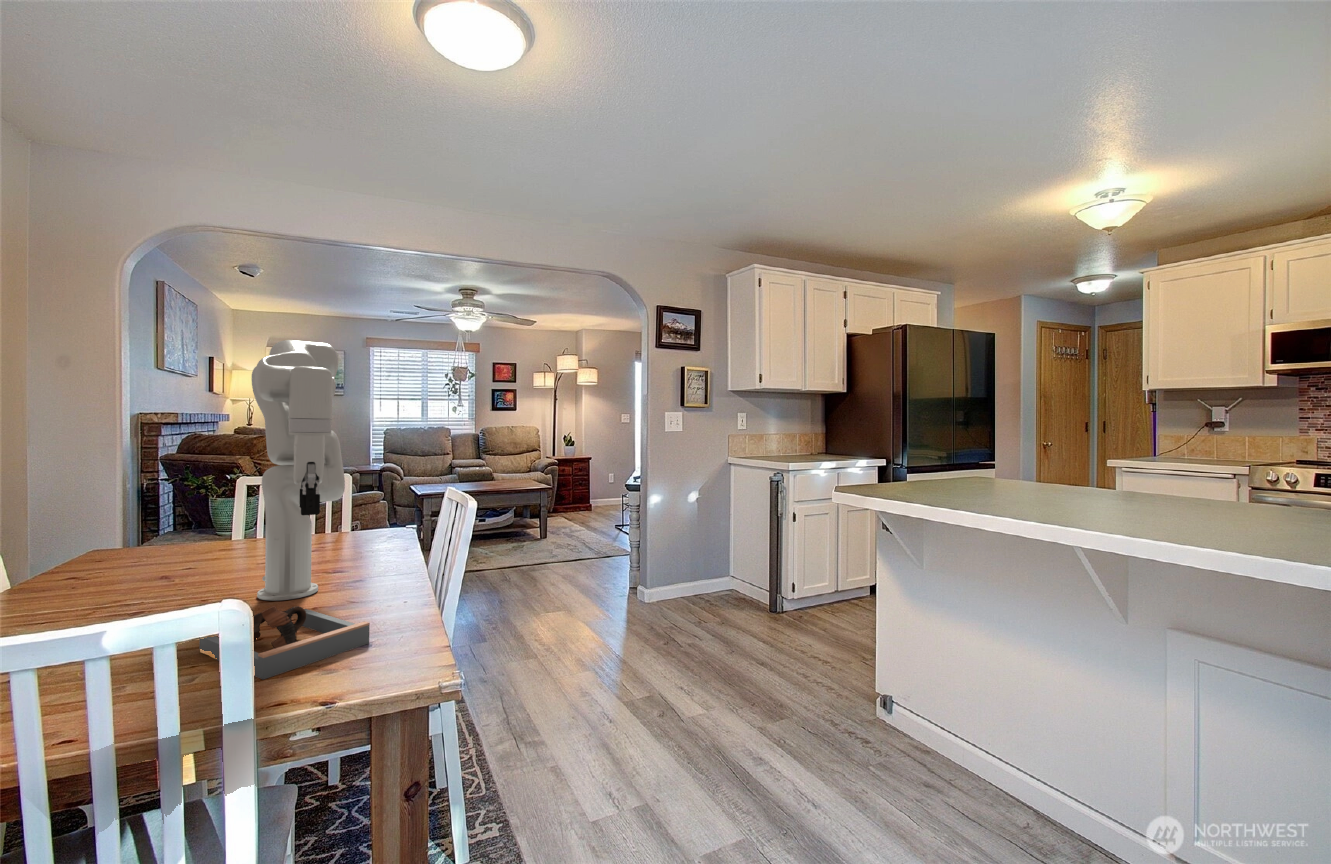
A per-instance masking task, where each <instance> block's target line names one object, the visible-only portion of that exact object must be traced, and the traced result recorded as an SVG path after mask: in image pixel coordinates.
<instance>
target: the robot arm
mask: <svg viewBox="0 0 1331 864" xmlns="http://www.w3.org/2000/svg"><path fill="white" fill-rule="evenodd" d="M338 369H339V355H338V353H337V351H336V349H335V348H334V346H332V345H331V344H329V343H326V342H319V341H318V342H316V341H306V340H297V339H296V340H295V339H294V340H293V339H286V340H281V341H278V342H276V343H274V344H273V346H272V347H271V348H270V349H269V355H268V356H265V357H263V358H261V359H259V360H258V362H257V364H256V366H254V368H253V369H252V372H251V388H252V392H253V396H254V399H255V401H256V403H257V406H258V407H259V410H260V412H261V413H262V416H263V418H264V425H265V427H264V428H265V442H266V452H267V456H268V460H269V461H270V462H271V463H273V464H274V466H271V467H270V468H268V469H266V470H265V471H264V473H263V474H262V477H261V489H262V490H261V491H262V496H263V501H264V509H265V559H264V560H265V562H264V563H265V565H264V567H265V569H264V571H265V572H264V576H262V581H263V582H264V587H263V588H261V589H260V590H258V591H257V592H256V597H257V598H258V599H259V600H262V601H271V602H272V601H287V600H288V601H289V600H295V599H300V598H305V597H309V596H312V595H313V594H315V593H317V592H318V591H319V584H317V583H315V582H312V552H313V551H312V547H313V546H312V545H313V544H312V541H313V540H312V539H313V538H312V537H313V536H312V535H313V531H312V530H313V529H312V528H313V525H312V524H313V523H312V519H311V516H315V515H318V516H319V515H320V512H321V509H320V508H321V503H326V502H327V503H328V502H334V501H335V502H336V501H337V500H339V499H341V498H342V497H343V495H344V493H345V488H346V479H345V471H344V463H343V458H342V450H341V449H342V448H341V443H340V439H339V436H338V435H337V433H336V432H335V431H334V430H332V429H333V427H332V425H333V422H332V421H333V419H332V417H333V416H332V415H333V397H334V396H335V394H336V389H337V388H336V387H337V385H336V379H335V378H336V375H337V373H338Z"/></svg>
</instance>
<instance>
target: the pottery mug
mask: <svg viewBox="0 0 1331 864" xmlns="http://www.w3.org/2000/svg"><path fill="white" fill-rule="evenodd" d="M304 609H305V608H304V607H301V606H299V605H298V606H292V607H290V608H288V609H286V610H284V611H282V610H278V609H277V607H276V605H274V606H270V607H268V608H266V609H264V610H263V611H261V612H259V613H256V614H255V615H253V616H254V641H253V642H256V641H257V640H258V639H260V638H261V637H262V633H261V632H260V631H261V628H260V627H261V625H262V624H264V623H266V624H267V625H268V627H271V628H272V629H273V628H274V629H275V628H276V630H277V631H278V632H279V634H280V636H279V637H277V638H276V639H274V640H273V641H272V640H271V645H272V646H273V649H275V648H278V647H282V646H285V645H288V644H292V643H295V642H298V641H297V632H298V631H299V629H300V628H302V627H303V626H302V625H303V624H304V622H305V620H306V611H305V610H304ZM294 614H295V615H296V621H295V622H293V620H292V618H293V616H294ZM256 638H257V640H256Z"/></svg>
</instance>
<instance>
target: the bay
mask: <svg viewBox="0 0 1331 864" xmlns="http://www.w3.org/2000/svg"><path fill="white" fill-rule="evenodd" d="M303 609H304V610H305V611H306V620H305V622H304V624H303V625H302V626H301V627H303V628H307V629H310V630H312V631H315V630H316V632H318V633H321V634H318V635H315V636H312V637H308V638H306V639H305V638H304V639H302V640H298V641H296V642H295V643H292V644H288V645H285V646H282V647H278V648H275V649H274V648H272V649H269V650H266V651H263V652H258V651H255V650H253V651H254V666H255V676H254V677H256V678H258V679H259V680H266V679H269V678H272V677H275V676H278V675H281V674H284V673H286V672H290V671H292V670H295V669H299V668H302V667H304V666H307V665H309V664H313V663H315V662H318V661H321V660H324V659H328V658H330V657H334V656H337V655H338V654H341V653H346V652H348V651H351V650H355V649H356V648H360V647H363V646H365V645H368V644H370V626H371V625H370V622H369V621H362V622H357V623H354V622H351V621H347V620H345V619H341V618H337V617H335V616H331V615H327V614H324V613H321V612H319V611H318V612H317V611H315V610H311V609H307V608H303ZM213 636H214V637H207V638H204V639H200V638H199V639H200V640H199V644H198V645H199V646H198V648H199V649H202V650H204V651H211V652H212V654H214V655H215V658H217V660H216V661H217V662H220V661H219V638H220V637H218V636H215V635H213ZM199 649H198V650H199Z"/></svg>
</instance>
